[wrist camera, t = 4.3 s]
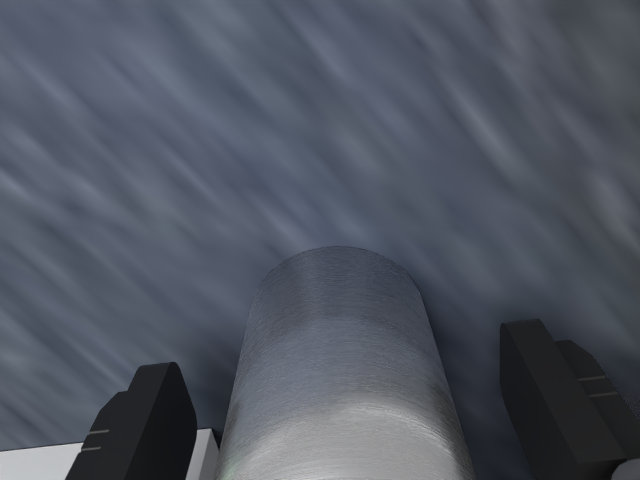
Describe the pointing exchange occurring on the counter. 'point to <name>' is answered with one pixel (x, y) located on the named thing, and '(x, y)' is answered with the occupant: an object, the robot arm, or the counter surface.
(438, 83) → the counter surface
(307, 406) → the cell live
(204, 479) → the frame
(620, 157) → the counter surface
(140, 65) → the counter surface
